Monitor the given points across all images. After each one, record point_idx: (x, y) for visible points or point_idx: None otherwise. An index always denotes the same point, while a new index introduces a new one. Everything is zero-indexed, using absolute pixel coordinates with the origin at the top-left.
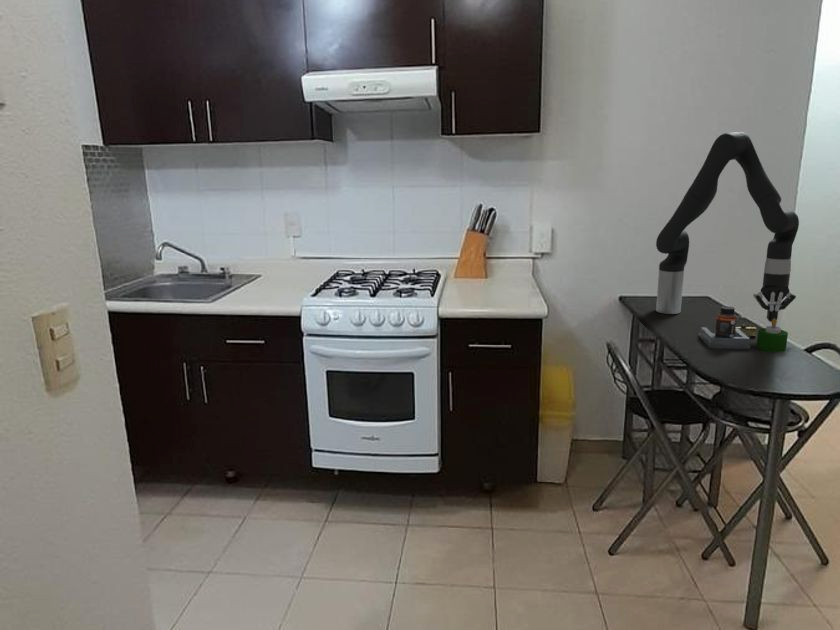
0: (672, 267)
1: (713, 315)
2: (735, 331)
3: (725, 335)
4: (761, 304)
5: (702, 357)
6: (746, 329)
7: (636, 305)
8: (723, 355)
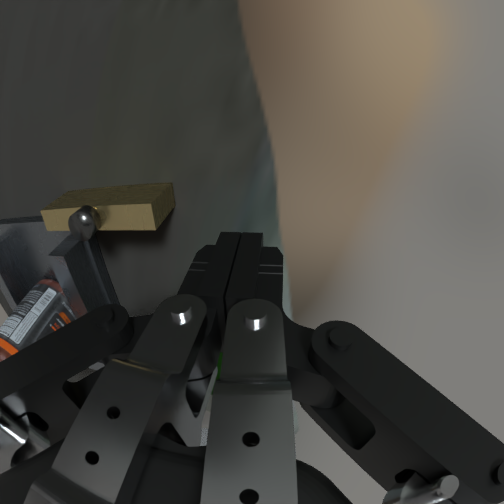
0: None
1: None
2: (68, 296)
3: None
4: (79, 395)
5: None
6: (108, 226)
7: None
8: (90, 370)
